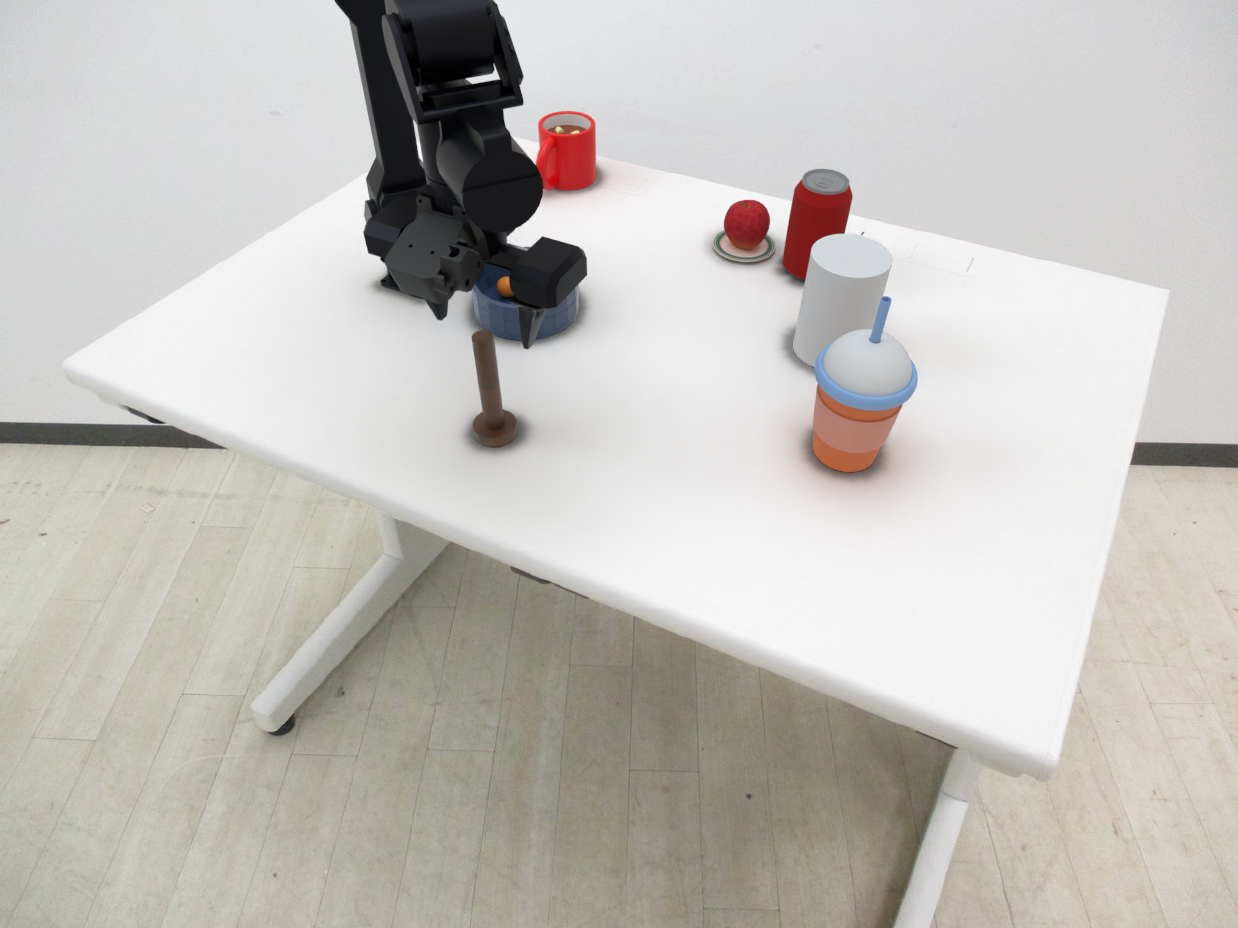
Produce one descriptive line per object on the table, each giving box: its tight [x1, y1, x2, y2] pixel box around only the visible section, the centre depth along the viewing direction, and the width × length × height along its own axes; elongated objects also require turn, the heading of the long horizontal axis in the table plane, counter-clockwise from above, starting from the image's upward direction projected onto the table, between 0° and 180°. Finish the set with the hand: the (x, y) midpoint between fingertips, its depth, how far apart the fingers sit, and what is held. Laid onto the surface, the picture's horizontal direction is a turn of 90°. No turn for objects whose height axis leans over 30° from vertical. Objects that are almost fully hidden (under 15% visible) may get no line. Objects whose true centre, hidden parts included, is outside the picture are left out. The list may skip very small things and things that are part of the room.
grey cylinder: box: [792, 233, 893, 368], centre depth 90 cm, size 8×8×12 cm
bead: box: [497, 276, 514, 297], centre depth 99 cm, size 2×2×2 cm
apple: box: [712, 199, 776, 263], centre depth 106 cm, size 8×8×6 cm
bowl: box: [470, 246, 580, 341], centre depth 98 cm, size 12×12×4 cm
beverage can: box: [782, 168, 853, 281], centre depth 101 cm, size 7×7×12 cm
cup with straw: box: [812, 295, 919, 473], centre depth 77 cm, size 9×9×18 cm
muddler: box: [471, 329, 518, 448], centre depth 81 cm, size 4×4×12 cm
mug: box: [535, 110, 597, 191], centre depth 117 cm, size 8×12×8 cm, turn 155°
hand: (484, 332), depth 76 cm, fingers open, 9 cm apart
